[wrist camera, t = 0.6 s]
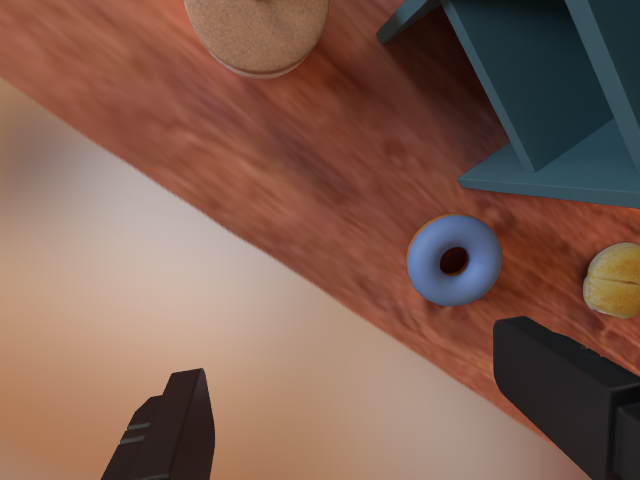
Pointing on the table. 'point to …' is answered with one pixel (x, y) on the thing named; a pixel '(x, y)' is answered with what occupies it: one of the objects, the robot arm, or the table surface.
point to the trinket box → (258, 32)
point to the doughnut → (475, 271)
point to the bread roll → (614, 281)
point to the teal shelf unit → (552, 93)
